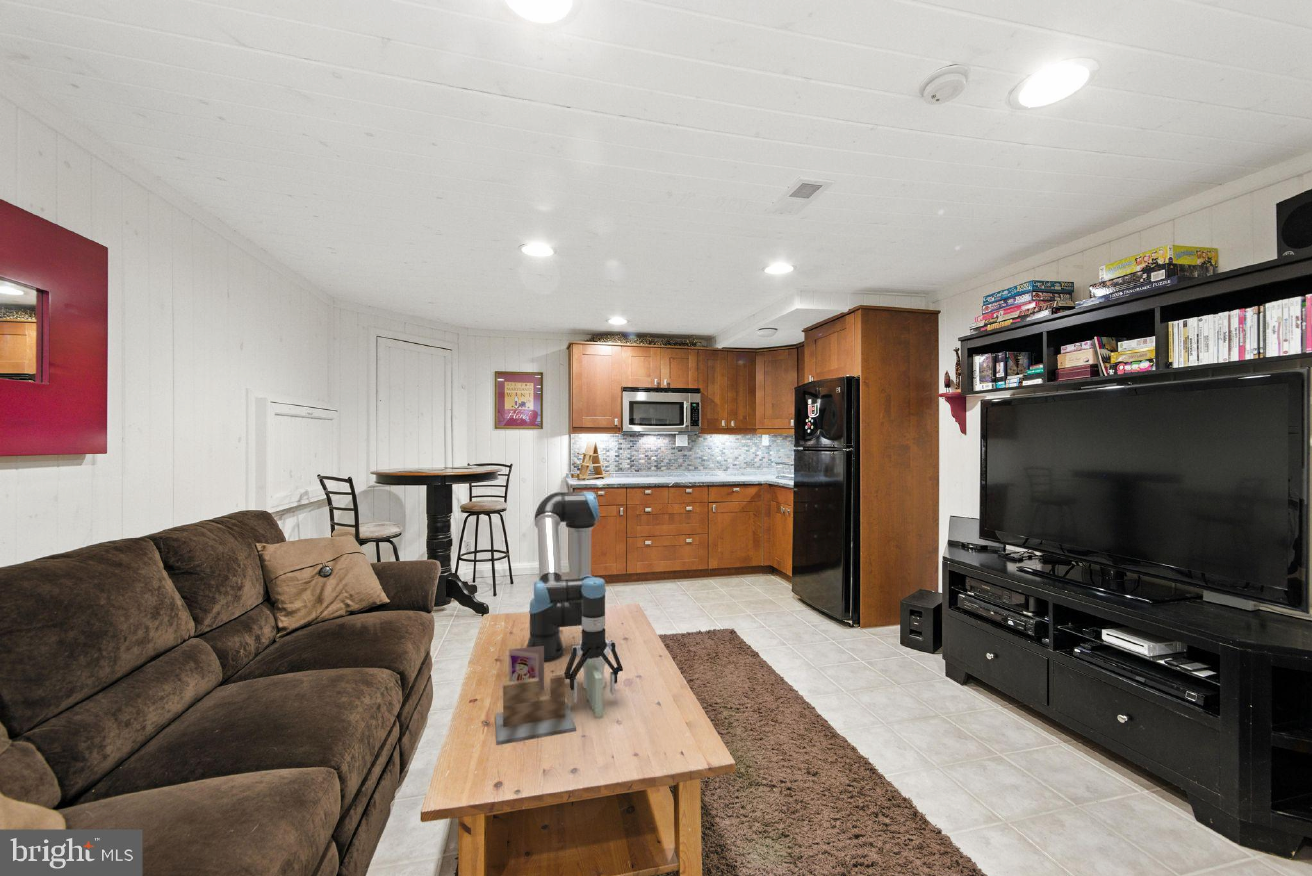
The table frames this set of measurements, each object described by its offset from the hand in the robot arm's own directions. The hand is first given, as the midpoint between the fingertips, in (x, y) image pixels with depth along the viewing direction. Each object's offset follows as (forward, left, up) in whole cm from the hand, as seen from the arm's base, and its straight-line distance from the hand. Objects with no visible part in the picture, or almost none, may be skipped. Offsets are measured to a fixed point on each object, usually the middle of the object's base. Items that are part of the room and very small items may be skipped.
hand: (593, 696), depth 168 cm
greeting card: (-15, -19, -3) cm, 24 cm away
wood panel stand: (+5, -19, -3) cm, 20 cm away
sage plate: (0, 0, -3) cm, 3 cm away
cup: (-14, +3, -3) cm, 15 cm away
